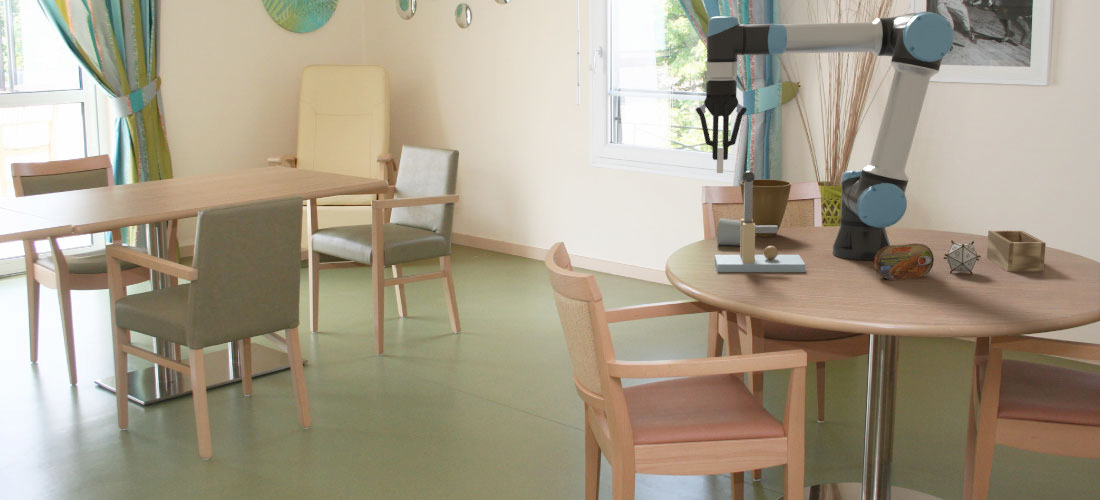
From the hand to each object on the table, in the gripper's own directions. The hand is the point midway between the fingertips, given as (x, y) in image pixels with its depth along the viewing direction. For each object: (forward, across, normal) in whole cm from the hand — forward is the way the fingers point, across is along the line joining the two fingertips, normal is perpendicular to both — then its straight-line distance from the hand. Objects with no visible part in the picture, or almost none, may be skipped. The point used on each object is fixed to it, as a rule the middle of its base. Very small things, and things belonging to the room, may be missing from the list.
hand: (719, 172), depth 264 cm
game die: (+25, -60, +6) cm, 65 cm away
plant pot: (+25, -16, -44) cm, 54 cm away
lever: (+16, -10, 0) cm, 19 cm away
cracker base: (+25, -10, 0) cm, 27 cm away
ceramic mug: (+25, -6, -30) cm, 40 cm away
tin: (+25, -44, +12) cm, 52 cm away
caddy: (+24, -76, -4) cm, 79 cm away
